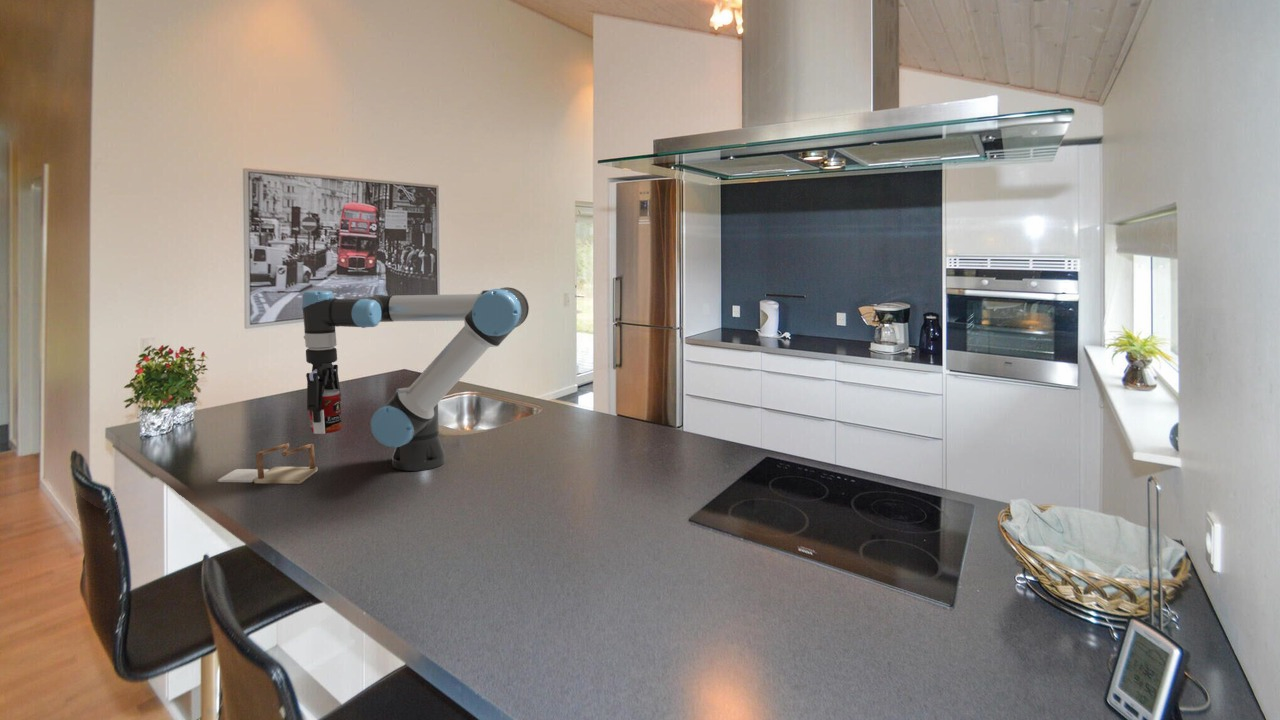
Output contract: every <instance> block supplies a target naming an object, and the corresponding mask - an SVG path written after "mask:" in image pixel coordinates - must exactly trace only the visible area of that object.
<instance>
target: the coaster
mask: <svg viewBox="0 0 1280 720" xmlns="http://www.w3.org/2000/svg"><path fill="white" fill-rule="evenodd" d="M263 470H264V473H266V472H267V471H269V470H270V469H267V468H263ZM256 478H258V471H257V468H255V469H254V468H236V469H234V470H232V471H230V472H229V473H226V475H224V476H222V477H220V478H217V482H218V483H253V482H254V480H255V479H256Z"/></svg>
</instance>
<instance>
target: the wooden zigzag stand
mask: <svg viewBox="0 0 1280 720" xmlns="http://www.w3.org/2000/svg"><path fill="white" fill-rule="evenodd" d="M289 447H290V443H289V442H285V443H284V444H280V445H277V446H273V447H270V448H267V449H264V450H260V451H258V452H256V453H255V456H256V466H257V467H256V469H257V471H258V478H256V479H255V480H254V481H253V482H254V484H289V485H290V484H295V485H296V484H297V485H300V484H302V483H304V481H306V480H307V479H308V478H310V477H311V476H313V475H314V474H315V473H317V472H318V471H319V467H318V466H316V460H315V459H316V458H315V456H316V455H315V445H314V443H308V444H305V445H301V446H298V447H296V448H294V449H289ZM282 449H283V451H282V453H281V455H282V457H287V456H289V455H292V454H295V453H299V452H302V451H304V450H307V449H308V461H309V462H308V463H309V466H274V467H272V468H270V469H269V471H267V472H266V473H264V470H263V469H264V461H263V458H264V457H263V456H264V455H266V454H269V453H273V452H276V451H279V450H282Z"/></svg>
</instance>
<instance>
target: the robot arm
mask: <svg viewBox="0 0 1280 720" xmlns="http://www.w3.org/2000/svg"><path fill="white" fill-rule="evenodd" d="M301 300H302V307H301V309H302V316H303V325H304V327H303V328H304V329H303V330H304V335H303V339H304V342H305V343H304V345H305V347H306V348H307V349H306V350H305V360H306V362H307V364H311V365H312V369H311V372H307V373H306V374H305V377H306V383H307V384H306V385H307V386H306V387H307V388H306V389H307V392H306V394H307V396H306V406H307V407H306V410H307V411H312V415H313V429H314V432H313V434H314V435H315V434H316V435H317V434H319V435H321V434H322V435H323V434H326V433H325V421H324V410H322V403H323V394H324V389H327V390H331V389H338V390H339V392H340V402H342V398H341V395H342V393H341V388H340V380H339V366H338V364H333V363H335V362H337V361H338V351H337V350H338V349H337V348H336V347H337V345H338V344H337V335H336V334H337V333H336V327H349V328H351V327H352V328H363V329H366V328H375V327H377V326H378V325H379V323H383V322H384V323H387V322H389V323H390V322H392V323H393V322H448V321H449V322H452V321H453V322H454V321H455V322H456V321H457V322H459V321H462V322H463V321H464V326H463V327H462V328H461V329H460V330H459V331H458V332H457V334H456V335H455V336H454V337H453V338H452V339H451V340H450V342H448V344H447V345H446V346H445V347H444V348H443V349H442V350H441V351H440V353H438V355H437V356H436V357H435V358H434V359H433V360H432V361H431V362H430V364H429V365H428V366H427V367H426V368H425V369H424V370H423V372H422V373H420V375H419V376H418V377H417V378H416V379H415V380H414V381H413V383H411V385H410V386H408V387H402V388H401V387H400V388H397V389H396V391H395V394H394V395H392V397H391V398H390V399H389V400H388V401H387V403H385V404H384V406H381V407H379V408H378V409H376V411H375V412H374V413H373V414H372V416H371V419H370V429H371V432H372V435H373V437H374V438H375V439H376V441H377V442H378V443H380V444H382V445H383V446H386V447H389V448H394V451H393V454H392V456H391V460H392V461H391V464H392V467H393V468H395V469H397V470H400V471H408V472H409V471H410V472H417V471H419V472H420V471H425V470H430V469H435V468H437V467H440V466H442V465H444V464H445V463H446V453H445V449H444V447H443V444H442V441H441V439H440V436H439V435H440V434H439V402H441V400H443V398H445V396H446V395H447V394H448V393H449V392H450V391H451V390H452V389H453V387H454V386H455V385H456V384H457V383H458V382H459V381H460V380H461V379H462V378H463V377H464V375H466V373H467V372H468V371H469V370H470V369H471V368H472V367H473V366H474V365H475V364H476V363H477V361H478V360H479V359H481V357H482V356H483V355H484V354H485V352H487V351H488V349H489V348H494V347H495V348H496V347H498V346H500V344H501V343H503V342H504V340H505V339H506V338H507V337H508V336H509V335H510V334H511V333H512V332H513V331H514V330H515V329H516V328H517V327H520V326H521V325H522V324H524V322H525V321H526V319H527V318H528V315H529V310H530V308H529V307H530V306H529V302H528V299H527V298H526V296H525V294H524V293H522V292H521V291H520V290H518V289H516V288H514V287H501V288H492V289H490V290H482V291H480V293H468V294H464V293H463V294H461V293H459V294H412V295H411V294H410V295H409V294H406V295H405V294H404V295H401V294H400V295H385V294H376V295H375V294H374V295H372V296H366V297H360V298H337V297H336V298H335V297H334V293H333V291H331V290H307V291H304V292H303V294H302V299H301Z"/></svg>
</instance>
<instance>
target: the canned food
mask: <svg viewBox="0 0 1280 720" xmlns="http://www.w3.org/2000/svg"><path fill="white" fill-rule="evenodd" d="M340 393H341V391H340V392H339V390H338V389H331V390H327V389H324V394H323V403H322V410H324V421H325V433H324V434H333V433H336V432H339V431H341V430H342V426H343V423H342V406H341V405H342V404H341V401H340V398H341V397H340ZM308 413H309V425H310V430H311V432H312V433H314V429H313V415H312V411H309V412H308Z"/></svg>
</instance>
